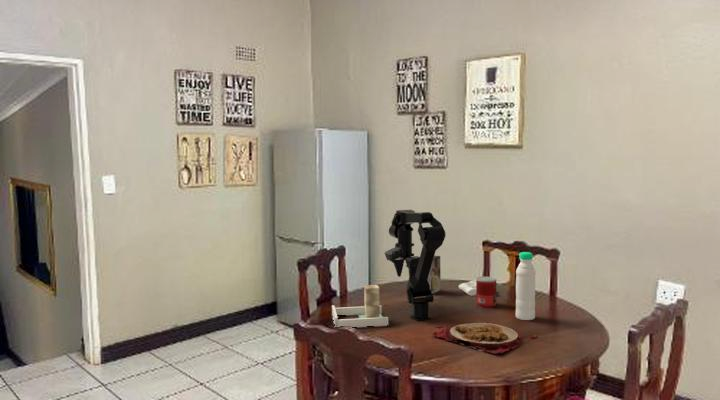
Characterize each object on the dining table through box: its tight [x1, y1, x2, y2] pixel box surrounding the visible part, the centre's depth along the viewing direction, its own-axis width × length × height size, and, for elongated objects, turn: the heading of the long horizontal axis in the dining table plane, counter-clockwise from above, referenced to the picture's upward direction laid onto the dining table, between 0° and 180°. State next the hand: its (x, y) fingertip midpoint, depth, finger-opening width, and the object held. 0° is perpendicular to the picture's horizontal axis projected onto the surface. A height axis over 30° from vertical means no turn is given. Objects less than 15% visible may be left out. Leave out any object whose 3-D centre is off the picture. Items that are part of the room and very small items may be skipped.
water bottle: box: [515, 251, 536, 321], centre depth 200 cm, size 7×7×25 cm
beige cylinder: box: [363, 284, 380, 318], centre depth 202 cm, size 5×5×12 cm
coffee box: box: [428, 255, 442, 295], centre depth 241 cm, size 9×6×16 cm
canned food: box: [475, 276, 497, 308], centre depth 219 cm, size 8×8×11 cm
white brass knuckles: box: [458, 279, 476, 297], centre depth 240 cm, size 3×18×15 cm
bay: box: [331, 304, 389, 328], centre depth 202 cm, size 20×16×4 cm
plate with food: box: [431, 321, 538, 354], centre depth 182 cm, size 25×26×4 cm
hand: (405, 278), depth 216 cm, fingers open, 9 cm apart
